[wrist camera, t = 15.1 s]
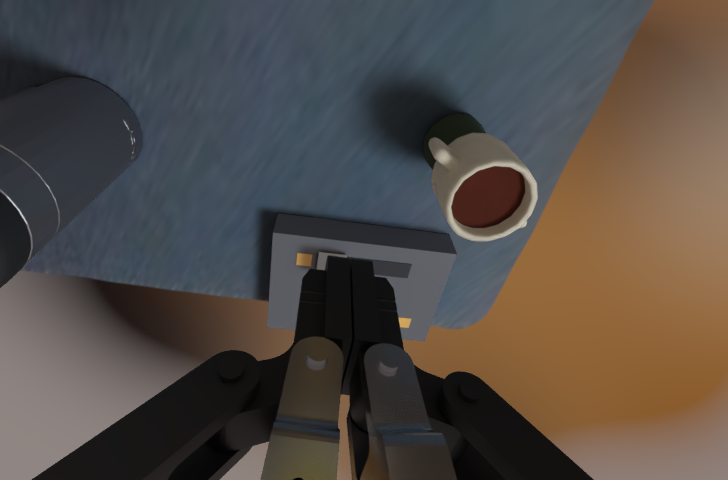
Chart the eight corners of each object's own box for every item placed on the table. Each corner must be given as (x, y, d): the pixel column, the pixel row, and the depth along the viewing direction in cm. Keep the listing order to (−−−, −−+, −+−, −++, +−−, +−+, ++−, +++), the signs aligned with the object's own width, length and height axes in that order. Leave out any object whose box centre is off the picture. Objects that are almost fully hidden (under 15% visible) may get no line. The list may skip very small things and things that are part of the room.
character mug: (389, 136, 41) (407, 197, 30) (439, 78, 38) (479, 123, 27) (462, 195, 45) (501, 267, 34) (513, 147, 42) (572, 210, 31)
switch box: (271, 304, 53) (267, 328, 49) (277, 213, 45) (272, 233, 42) (419, 318, 55) (424, 341, 52) (449, 234, 48) (457, 255, 44)
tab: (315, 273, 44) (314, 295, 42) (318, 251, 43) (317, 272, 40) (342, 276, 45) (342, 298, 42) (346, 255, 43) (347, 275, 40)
